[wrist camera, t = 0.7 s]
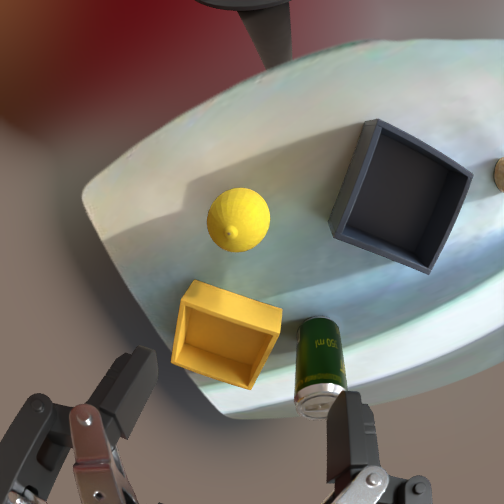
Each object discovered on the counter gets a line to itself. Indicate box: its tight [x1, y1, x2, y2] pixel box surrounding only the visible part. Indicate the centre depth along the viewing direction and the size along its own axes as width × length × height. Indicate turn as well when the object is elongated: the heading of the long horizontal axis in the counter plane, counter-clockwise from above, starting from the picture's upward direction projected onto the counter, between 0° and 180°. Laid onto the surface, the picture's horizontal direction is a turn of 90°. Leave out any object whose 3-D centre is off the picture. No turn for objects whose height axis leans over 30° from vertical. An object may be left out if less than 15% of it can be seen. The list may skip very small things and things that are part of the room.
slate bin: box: [328, 119, 474, 275], centre depth 23 cm, size 11×11×5 cm
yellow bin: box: [171, 279, 282, 390], centre depth 33 cm, size 11×11×5 cm
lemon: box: [207, 188, 270, 252], centre depth 25 cm, size 6×6×8 cm
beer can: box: [294, 316, 348, 420], centre depth 28 cm, size 5×5×12 cm
